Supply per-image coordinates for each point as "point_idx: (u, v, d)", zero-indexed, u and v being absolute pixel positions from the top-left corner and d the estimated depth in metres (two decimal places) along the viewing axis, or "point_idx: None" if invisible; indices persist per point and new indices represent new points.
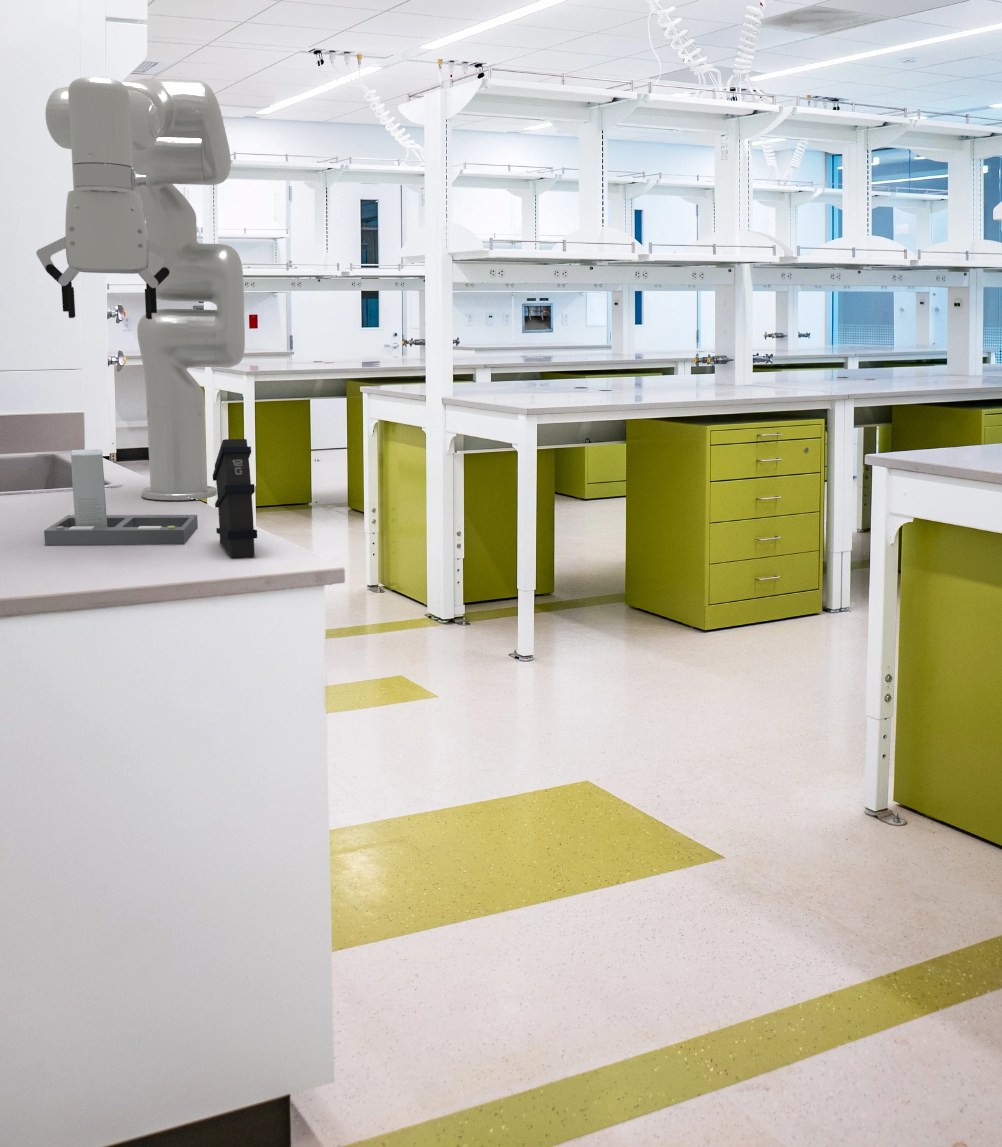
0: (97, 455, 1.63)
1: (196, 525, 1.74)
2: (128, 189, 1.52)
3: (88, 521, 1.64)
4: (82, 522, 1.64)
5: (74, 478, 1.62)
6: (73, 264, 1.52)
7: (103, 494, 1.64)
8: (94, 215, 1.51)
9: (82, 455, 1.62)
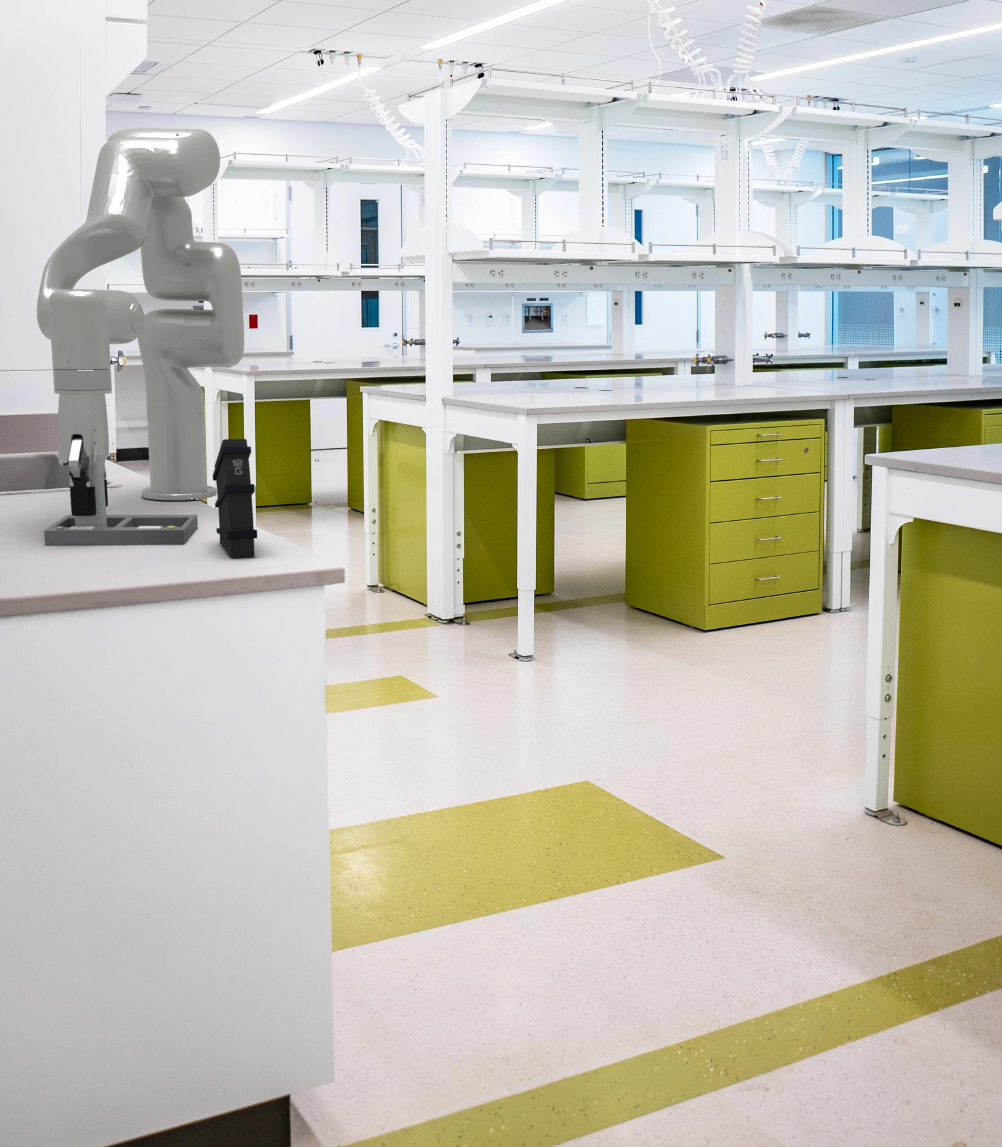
0: None
1: (196, 525, 1.74)
2: None
3: (88, 521, 1.64)
4: (82, 522, 1.64)
5: None
6: (95, 462, 1.61)
7: (103, 494, 1.64)
8: (101, 415, 1.63)
9: None
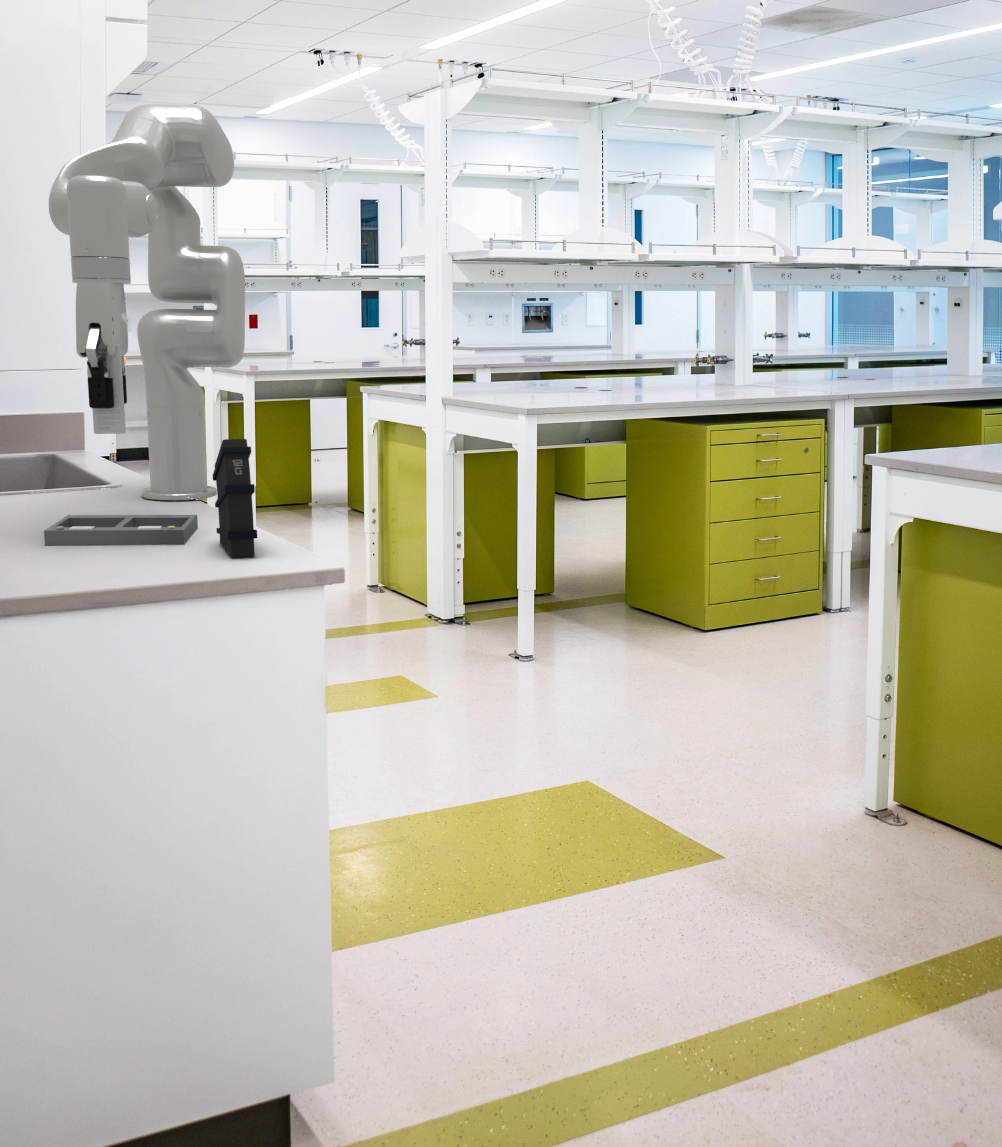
0: None
1: (196, 525, 1.74)
2: None
3: (105, 414, 1.61)
4: (99, 415, 1.61)
5: None
6: (113, 352, 1.58)
7: (121, 386, 1.61)
8: (119, 305, 1.60)
9: None
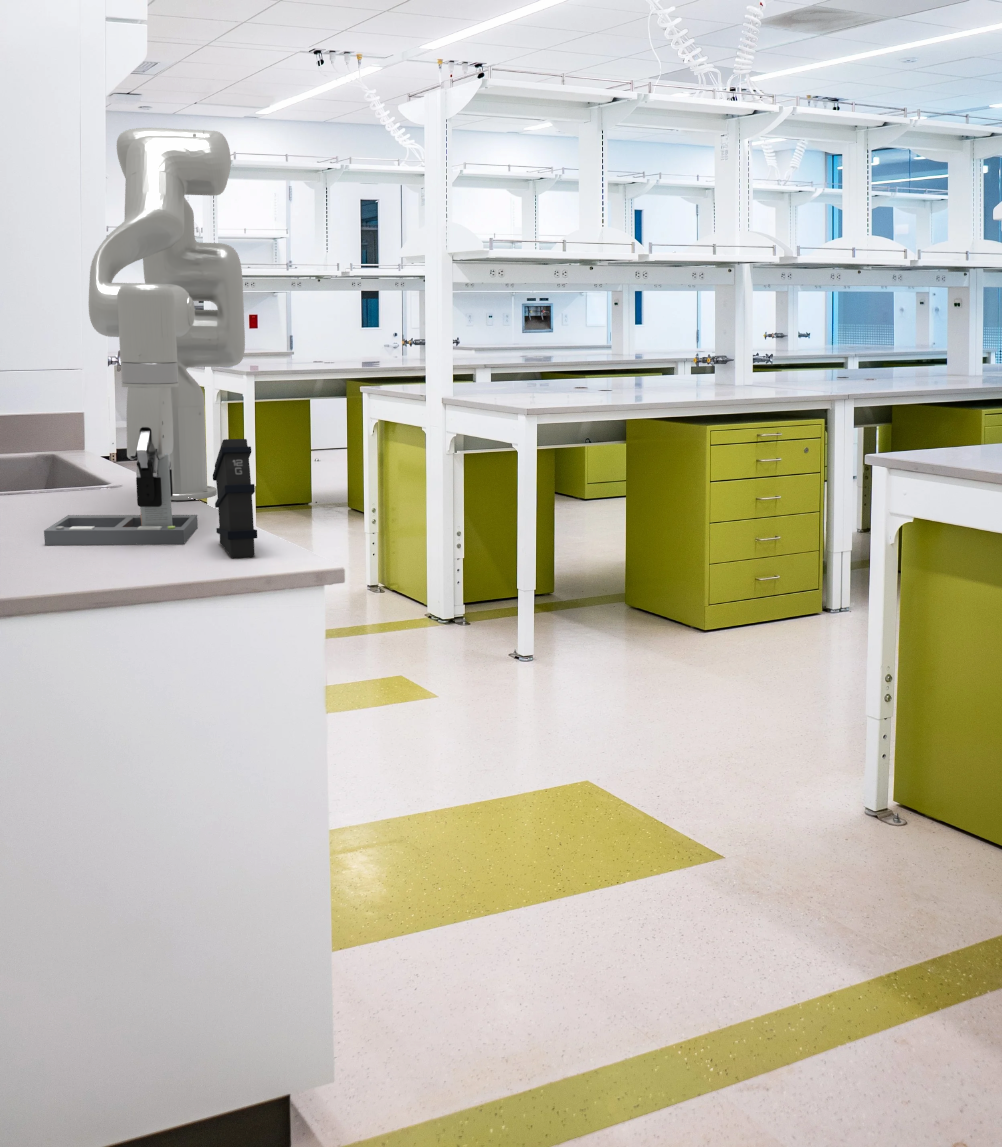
0: None
1: (196, 525, 1.74)
2: None
3: (154, 521, 1.65)
4: (148, 522, 1.65)
5: None
6: (162, 455, 1.62)
7: (169, 494, 1.65)
8: (168, 408, 1.63)
9: None
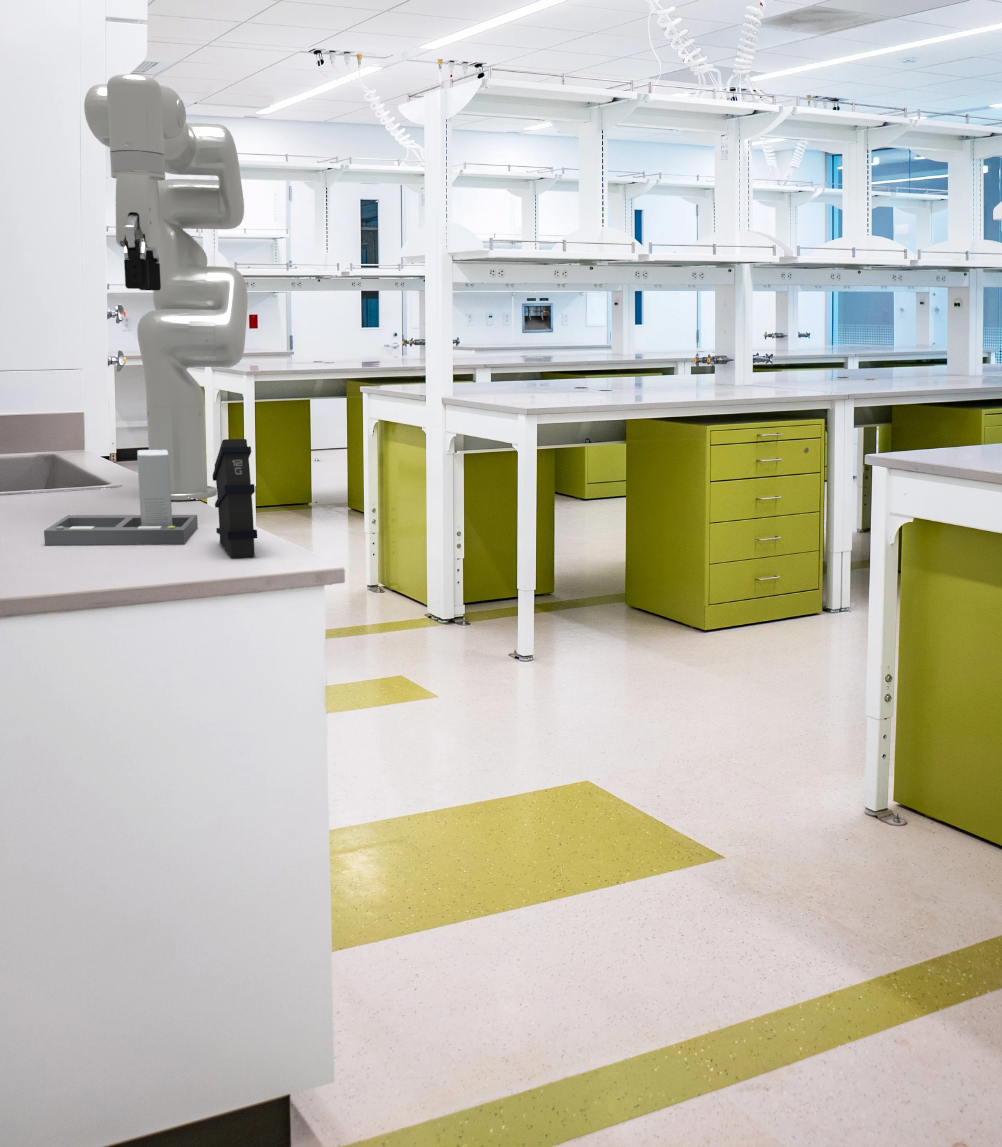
0: (163, 455, 1.63)
1: (196, 525, 1.74)
2: None
3: (154, 521, 1.65)
4: (148, 522, 1.65)
5: (141, 478, 1.63)
6: (150, 241, 1.70)
7: (169, 494, 1.65)
8: (155, 198, 1.72)
9: (149, 455, 1.63)
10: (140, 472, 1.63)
